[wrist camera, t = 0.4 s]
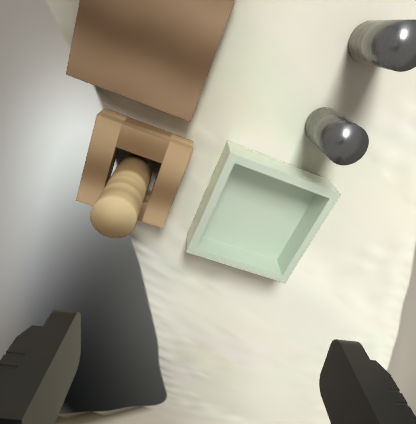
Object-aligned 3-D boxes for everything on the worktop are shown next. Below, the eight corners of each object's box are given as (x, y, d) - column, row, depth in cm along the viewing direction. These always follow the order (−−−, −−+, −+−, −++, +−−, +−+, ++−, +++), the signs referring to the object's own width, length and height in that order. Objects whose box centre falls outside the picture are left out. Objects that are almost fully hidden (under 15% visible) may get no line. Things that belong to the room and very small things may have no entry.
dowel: (125, 145, 31) (96, 192, 22) (157, 156, 32) (141, 207, 23) (116, 174, 33) (85, 230, 24) (148, 185, 33) (128, 243, 24)
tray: (227, 140, 31) (230, 152, 28) (328, 179, 33) (340, 194, 30) (187, 233, 36) (186, 252, 33) (278, 263, 38) (285, 283, 35)
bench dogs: (361, 14, 27) (401, 11, 22) (394, 30, 27) (440, 31, 22) (299, 134, 31) (319, 156, 26) (328, 146, 32) (354, 170, 26)
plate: (104, -74, 24) (95, -83, 22) (236, -12, 26) (240, -15, 24) (76, 70, 29) (66, 74, 27) (190, 114, 31) (190, 121, 29)
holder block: (104, 108, 30) (96, 114, 28) (193, 141, 31) (192, 150, 29) (84, 188, 33) (75, 200, 31) (164, 215, 35) (162, 228, 32)
